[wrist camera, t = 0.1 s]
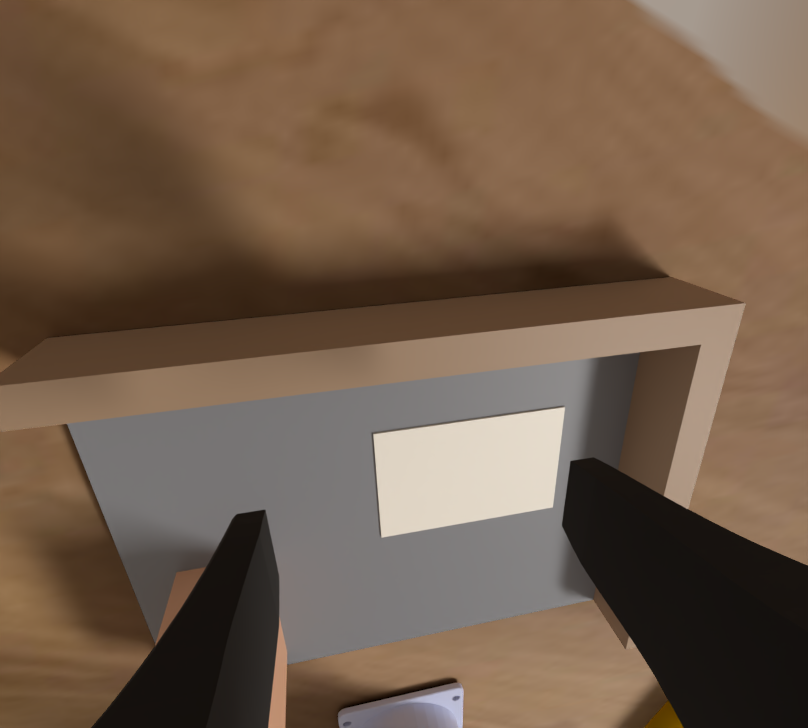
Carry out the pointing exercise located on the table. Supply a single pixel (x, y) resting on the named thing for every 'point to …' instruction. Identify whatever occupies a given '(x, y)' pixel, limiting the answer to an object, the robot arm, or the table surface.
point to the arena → (386, 444)
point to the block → (277, 716)
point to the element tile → (665, 718)
